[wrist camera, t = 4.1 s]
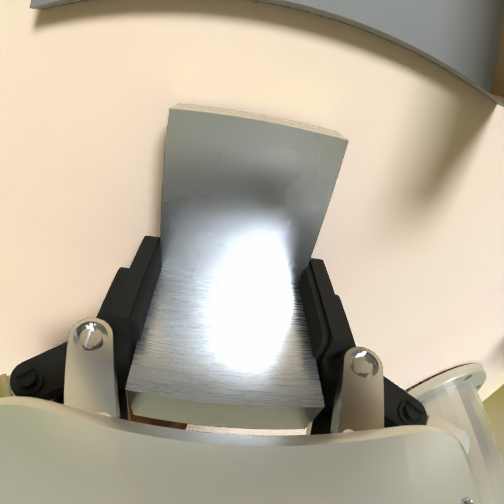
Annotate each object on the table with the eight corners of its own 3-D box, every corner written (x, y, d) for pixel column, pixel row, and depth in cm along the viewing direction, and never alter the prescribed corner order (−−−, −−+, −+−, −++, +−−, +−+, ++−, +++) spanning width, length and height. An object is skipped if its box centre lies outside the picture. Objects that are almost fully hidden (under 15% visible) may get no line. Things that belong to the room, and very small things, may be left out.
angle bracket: (285, 295, 13) (304, 428, 8) (166, 280, 12) (133, 414, 7) (336, 131, 9) (442, 225, 4) (178, 103, 8) (85, 165, 3)
